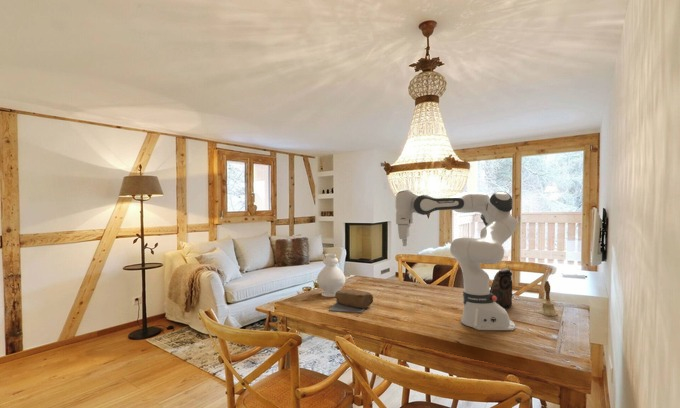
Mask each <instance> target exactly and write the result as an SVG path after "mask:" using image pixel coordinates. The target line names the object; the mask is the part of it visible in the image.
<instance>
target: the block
mask: <svg viewBox="0 0 680 408" xmlns="http://www.w3.org/2000/svg"><path fill="white" fill-rule="evenodd" d="M335 299H336V300H335V303H340V304H342V305H346V306H351V307H357V308H366V309H367V308H368V307H369V306H371V305H372V304H373V302H374V296H373V294H372V293H370V292H368V291H364V290H357V289H340V290H339V291H337V292H336V293H335Z"/></svg>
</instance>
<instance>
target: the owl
mask: <svg viewBox="0 0 680 408" xmlns="http://www.w3.org/2000/svg"><path fill="white" fill-rule="evenodd" d="M512 275H513V273H512V271H511V269H510V267H509V266H508V267H504V268H501V269H499V270H498V271H497V272H496V274H495V275H494V277H493V280H492V283H491V285H490V293H492V294H493V295H494V296H496V298H497V300H496V301H495V302H496V303H497V304H499V305H500V306H501V307H502V308H504V309H505V310H506V309H510V308H511V307H513V301H512V300H513V280H512Z"/></svg>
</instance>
